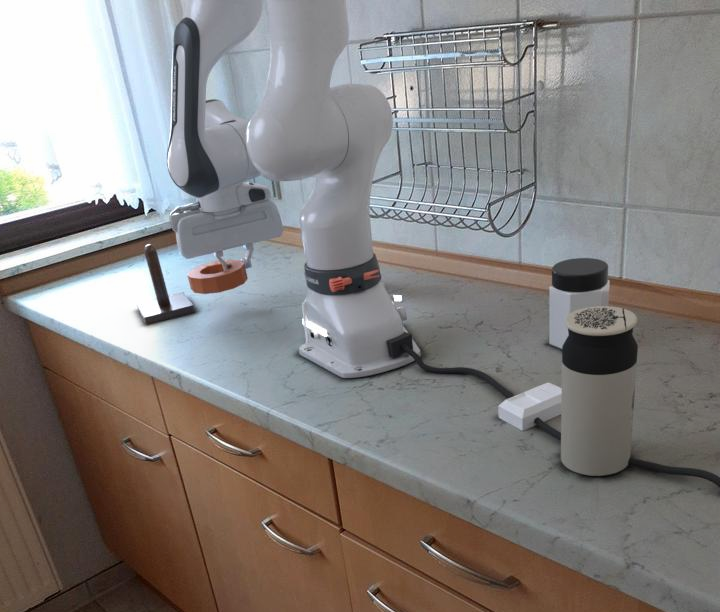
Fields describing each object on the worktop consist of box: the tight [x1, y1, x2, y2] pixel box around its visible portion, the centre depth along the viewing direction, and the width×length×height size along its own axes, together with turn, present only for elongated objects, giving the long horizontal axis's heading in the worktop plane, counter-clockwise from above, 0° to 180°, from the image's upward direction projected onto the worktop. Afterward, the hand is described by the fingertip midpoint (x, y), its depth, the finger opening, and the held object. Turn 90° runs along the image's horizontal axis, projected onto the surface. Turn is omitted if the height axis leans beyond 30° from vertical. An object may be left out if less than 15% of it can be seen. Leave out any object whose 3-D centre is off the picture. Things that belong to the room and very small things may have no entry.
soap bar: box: [497, 382, 562, 432], centre depth 106 cm, size 5×9×3 cm, turn 120°
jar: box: [548, 257, 611, 350], centre depth 121 cm, size 9×8×12 cm
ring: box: [186, 259, 248, 295], centre depth 152 cm, size 11×11×3 cm
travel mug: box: [560, 305, 639, 477], centre depth 90 cm, size 8×8×18 cm
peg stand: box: [136, 243, 196, 325], centre depth 158 cm, size 10×10×14 cm
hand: (238, 270), depth 153 cm, fingers closed on ring, 2 cm apart
